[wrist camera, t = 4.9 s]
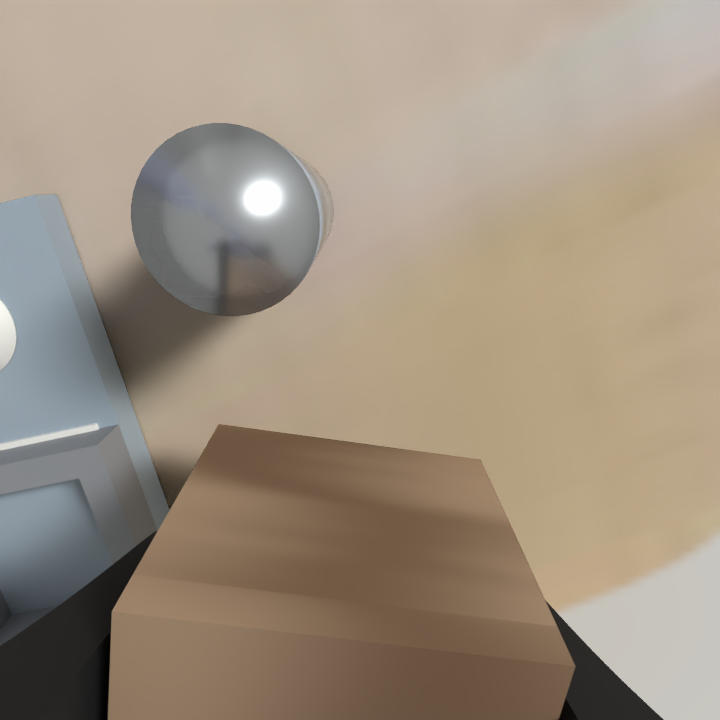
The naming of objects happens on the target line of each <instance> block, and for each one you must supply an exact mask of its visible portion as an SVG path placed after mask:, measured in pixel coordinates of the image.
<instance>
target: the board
mask: <svg viewBox="0 0 720 720" xmlns="http://www.w3.org/2000/svg"><path fill="white" fill-rule="evenodd" d="M168 512H169V507H168V504H167V501H166V499H165V496H164V493H163V490H162V487H161V485H160V482H159V479H158V476H157V473H156V471H155V468H154V465H153V462H152V459H151V457H150V454H149V451H148V448H147V445H146V443H145V440H144V437H143V434H142V431H141V429H140V426H139V423H138V420H137V417H136V415H135V412H134V409H133V406H132V403H131V401H130V398H129V395H128V392H127V389H126V387H125V384H124V381H123V378H122V375H121V373H120V370H119V367H118V364H117V361H116V359H115V356H114V353H113V350H112V347H111V345H110V342H109V339H108V336H107V333H106V330H105V328H104V325H103V322H102V319H101V316H100V314H99V311H98V308H97V305H96V302H95V300H94V297H93V294H92V291H91V288H90V286H89V283H88V280H87V277H86V274H85V272H84V269H83V266H82V263H81V260H80V258H79V255H78V252H77V249H76V246H75V244H74V241H73V238H72V235H71V232H70V230H69V227H68V224H67V221H66V218H65V216H64V213H63V210H62V207H61V204H60V202H59V199H58V196H57V194H55V195H33V196H28V197H24V198H20V199H16V200H12V201H7V202H3V203H0V646H1V645H2V644H4V643H5V642H7V641H8V640H10V639H11V638H13V637H14V636H16V635H17V634H19V633H20V632H21V631H23V630H24V629H26V628H27V627H29V626H30V625H32V624H33V623H35V622H36V621H37V620H39V619H40V618H42V617H43V616H45V615H46V614H48V613H49V612H50V611H52V610H53V609H55V608H56V607H57V606H59V605H60V604H62V603H63V602H64V601H66V600H67V599H68V598H70V597H71V596H72V595H73V594H75V593H76V592H77V591H79V590H80V589H81V588H83V587H84V586H85V585H87V584H88V583H89V582H91V581H92V580H93V579H95V578H96V577H97V576H99V575H100V574H101V573H102V572H104V571H105V570H106V569H107V568H109V567H110V566H111V565H113V564H114V563H115V562H116V561H118V560H119V559H120V558H121V557H123V556H124V555H125V554H126V553H128V552H129V551H130V550H131V549H133V548H134V547H135V546H136V545H138V544H139V543H140V542H142V541H143V540H144V539H146V538H147V537H148V536H150V535H151V534H152V533H154V532H155V531H158V530H159V528H160V526H161V524H162V523H163V521H164V519H165V517H166V516H167V514H168Z"/></svg>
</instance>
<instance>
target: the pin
mask: <svg viewBox="0 0 720 720" xmlns="http://www.w3.org/2000/svg"><path fill="white" fill-rule="evenodd" d="M131 222H132V231H133V235H134V239H135V243H136V246H137V249H138V251H139V254H140V256H141V258H142V260H143V262H144V264H145V266H146V267H147V269H148V270H149V272H150V273H151V275H152V276H153V277H154V278H155V280H156V281H157V282H158V283H159V284H160V285H161V286H162V287H163V288H164V289H165V290H166V291H167V292H168V293H169V294H171V295H172V296H174V297H175V298H176V299H178V300H179V301H181V302H183V303H184V304H186V305H188V306H190V307H192V308H195V309H197V310H200V311H202V312H206V313H210V314H215V315H223V316H240V315H247V314H252V313H256V312H259V311H262V310H265V309H267V308H269V307H272V306H273V305H275V304H277V303H278V302H280V301H282V300H283V299H284V298H285V297H287V296H288V295H289V294H290V293H291V292H292V291H293V290H294V289H295V288H296V287H297V286H298V285H299V284H300V282H301V281H302V280H303V278H304V277H305V276H306V274H307V272H308V270H309V269H310V267H311V265H312V263H313V262H314V260H315V258H316V257H317V255H318V253H319V251H320V250H321V248H322V246H323V244H324V243H325V241H326V239H327V237H328V235H329V233H330V230H331V227H332V223H333V201H332V197H331V193H330V191H329V188H328V186H327V184H326V182H325V181H324V179H323V178H322V176H321V175H320V174H319V172H318V171H317V170H316V169H315V168H314V167H312V166H311V165H310V164H308V163H307V162H306V161H304V160H303V159H301V158H300V157H298V156H297V155H295V154H294V153H292V152H291V151H289V150H288V149H286V148H285V147H283V146H282V145H281V144H279V143H278V142H276V141H275V140H273V139H271V138H270V137H268V136H266V135H265V134H263V133H260V132H258V131H256V130H253V129H251V128H248V127H244V126H240V125H235V124H228V123H211V124H204V125H199V126H195V127H192V128H189V129H186V130H184V131H182V132H180V133H178V134H176V135H174V136H173V137H171V138H170V139H168V140H167V141H165V142H164V143H163V144H162V145H161V146H160V147H158V148H157V149H156V150H155V152H154V153H153V154H152V155H151V156H150V158H149V159H148V160H147V162H146V164H145V165H144V167H143V168H142V170H141V172H140V175H139V177H138V179H137V182H136V185H135V188H134V192H133V198H132V204H131Z"/></svg>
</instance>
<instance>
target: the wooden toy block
mask: <svg viewBox="0 0 720 720" xmlns="http://www.w3.org/2000/svg"><path fill="white" fill-rule="evenodd" d="M575 667H576V666H575V664H574V662H573V660H572V657H571V655H570V653H569V651H568V649H567V647H566V644H565V642H564V640H563V638H562V636H561V634H560V631H559V629H558V627H557V625H556V623H555V620H554V618H553V616H552V614H551V612H550V610H549V607H548V605H547V603H546V601H545V599H544V597H543V594H542V592H541V590H540V588H539V586H538V584H537V581H536V579H535V577H534V575H533V573H532V570H531V568H530V566H529V564H528V562H527V560H526V557H525V555H524V553H523V551H522V549H521V547H520V544H519V542H518V540H517V538H516V536H515V533H514V531H513V529H512V527H511V525H510V523H509V520H508V518H507V516H506V514H505V512H504V510H503V507H502V505H501V503H500V501H499V499H498V496H497V494H496V492H495V490H494V488H493V486H492V483H491V481H490V479H489V477H488V475H487V473H486V470H485V468H484V466H483V464H482V462H481V460H479V459H471V458H464V457H456V456H449V455H442V454H434V453H427V452H420V451H412V450H405V449H398V448H390V447H383V446H375V445H368V444H361V443H353V442H346V441H339V440H331V439H324V438H317V437H309V436H302V435H294V434H287V433H280V432H272V431H265V430H258V429H250V428H243V427H236V426H228V425H221V424H219V425H218V427H217V428H216V430H215V432H214V434H213V435H212V437H211V439H210V441H209V442H208V444H207V446H206V448H205V449H204V451H203V453H202V455H201V456H200V458H199V460H198V462H197V463H196V465H195V467H194V469H193V470H192V472H191V474H190V476H189V477H188V479H187V481H186V483H185V484H184V486H183V488H182V489H181V491H180V493H179V495H178V496H177V498H176V500H175V502H174V503H173V505H172V507H171V509H170V510H169V512H168V514H167V516H166V517H165V519H164V521H163V523H162V524H161V526H160V528H159V530H158V531H157V533H156V535H155V537H154V538H153V540H152V542H151V544H150V545H149V547H148V549H147V551H146V552H145V554H144V556H143V558H142V559H141V561H140V563H139V565H138V566H137V568H136V570H135V572H134V573H133V575H132V577H131V579H130V580H129V582H128V584H127V586H126V587H125V589H124V591H123V593H122V594H121V596H120V598H119V600H118V601H117V603H116V605H115V607H114V608H113V610H112V619H111V646H110V673H109V700H108V720H559V717H560V714H561V711H562V707H563V704H564V701H565V698H566V695H567V692H568V689H569V685H570V682H571V679H572V676H573V673H574V670H575Z"/></svg>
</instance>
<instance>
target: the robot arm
mask: <svg viewBox="0 0 720 720" xmlns="http://www.w3.org/2000/svg"><path fill="white" fill-rule="evenodd" d="M156 533H157V531H155V532H154V533H152V534H151V535H150V536H148V537H147V538H146V539H144V540H143V541H142V542H140V543H139V544H138V545H136V546H135V547H134V548H133V549H131V550H130V551H129V552H128V553H126V554H125V555H124V556H123V557H121V558H120V559H119V560H118V561H116V562H115V563H114V564H113V565H111V566H110V567H109V568H107V569H106V570H105V571H104V572H102V573H101V574H100V575H99V576H97V577H96V578H95V579H93V580H92V581H91V582H89V583H88V584H87V585H85V586H84V587H83V588H81V589H80V590H79V591H77V592H76V593H75V594H73V595H72V596H71V597H70V598H68V599H67V600H66V601H64V602H63V603H62V604H60V605H59V606H57V607H56V608H55V609H53V610H52V611H50V612H49V613H48V614H46V615H45V616H43V617H42V618H40V619H39V620H37V621H36V622H35V623H33V624H32V625H30V626H29V627H27V628H26V629H24V630H23V631H21V632H20V633H19V634H17V635H16V636H14V637H13V638H11V639H10V640H8V641H7V642H5V643H4V644H2V645H1V646H0V720H108V700H109V673H110V646H111V619H112V610H113V608H114V607H115V605H116V603H117V601H118V600H119V598H120V596H121V594H122V593H123V591H124V589H125V587H126V586H127V584H128V582H129V580H130V579H131V577H132V575H133V573H134V572H135V570H136V568H137V566H138V565H139V563H140V561H141V559H142V558H143V556H144V554H145V552H146V551H147V549H148V547H149V545H150V544H151V542H152V540H153V538H154V537H155V535H156ZM545 601H546V600H545ZM546 603H547V602H546ZM547 605H548V607H549V610H550V612H551V614H552V616H553V618H554V620H555V623H556V625H557V627H558V629H559V631H560V634H561V636H562V638H563V640H564V642H565V644H566V647H567V649H568V651H569V653H570V655H571V657H572V660H573V662H574V664H575V666H576V667H575V670H574V673H573V676H572V679H571V682H570V685H569V689H568V692H567V695H566V698H565V701H564V704H563V707H562V711H561V714H560V717H559V720H663V719H662V718H661V717H660V716H659V715H658V714H657V713H655V711H654V710H652V709H651V708H650V707H649V706H648V705H647V704H646V703H645V702H644V701H643V700H642V699H641V698H640V697H639V696H637V694H636V693H634V692H633V691H632V690H631V689H630V688H629V687H628V686H627V685H626V684H625V683H624V682H623V681H622V680H621V679H620V678H619V677H618V676H617V675H616V674H615V673H614V672H613V671H612V670H611V669H610V668H609V667H608V666H607V665H606V664H605V663H604V662H603V661H602V660H601V659H600V658H599V657H598V656H597V655H596V654H595V653H594V652H593V651H592V650H591V649H590V648H589V647H588V646H587V645H586V644H585V643H584V641H582V639H581V638H580V637H579V636H578V635H577V634H576V633H575V632H574V631H573V630H572V629H571V628H570V627H569V626H568V624H567V623H566V622H565V621H564V620H563V619H562V618H561V617H560V616H559V615H558V614H557V612H556V611H555V610H554V609H553V608H552V607H551V606H550V605H549V604H548V603H547Z"/></svg>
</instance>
